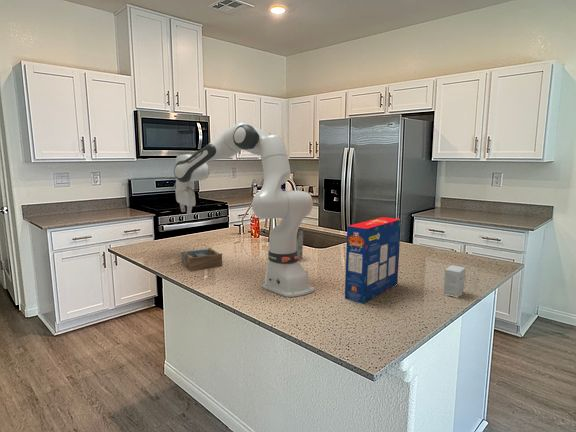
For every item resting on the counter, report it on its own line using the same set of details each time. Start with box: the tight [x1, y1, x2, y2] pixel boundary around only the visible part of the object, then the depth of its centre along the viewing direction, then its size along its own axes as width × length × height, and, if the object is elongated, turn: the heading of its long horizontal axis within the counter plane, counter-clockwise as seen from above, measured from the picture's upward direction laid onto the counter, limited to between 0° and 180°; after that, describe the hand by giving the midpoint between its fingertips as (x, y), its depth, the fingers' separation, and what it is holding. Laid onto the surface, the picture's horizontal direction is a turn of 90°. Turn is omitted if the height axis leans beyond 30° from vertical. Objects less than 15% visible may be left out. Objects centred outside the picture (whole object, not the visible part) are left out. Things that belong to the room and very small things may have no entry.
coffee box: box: [296, 227, 304, 261], centre depth 197 cm, size 9×6×16 cm
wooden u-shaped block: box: [182, 247, 223, 272], centre depth 185 cm, size 13×16×6 cm
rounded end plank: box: [180, 247, 211, 263], centre depth 192 cm, size 1×15×6 cm, turn 118°
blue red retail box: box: [344, 216, 402, 305], centre depth 150 cm, size 28×8×28 cm, turn 139°
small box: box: [442, 264, 466, 297], centre depth 149 cm, size 8×6×10 cm
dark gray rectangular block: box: [194, 253, 206, 257], centre depth 185 cm, size 9×4×5 cm, turn 33°
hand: (186, 213), depth 197 cm, fingers open, 8 cm apart
